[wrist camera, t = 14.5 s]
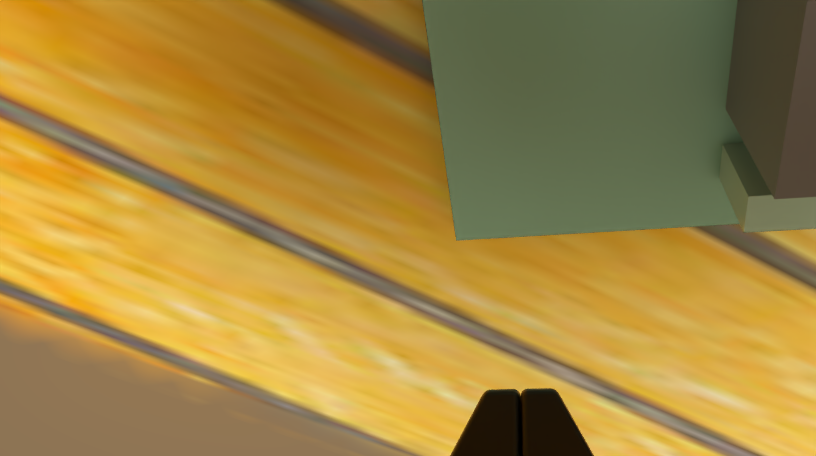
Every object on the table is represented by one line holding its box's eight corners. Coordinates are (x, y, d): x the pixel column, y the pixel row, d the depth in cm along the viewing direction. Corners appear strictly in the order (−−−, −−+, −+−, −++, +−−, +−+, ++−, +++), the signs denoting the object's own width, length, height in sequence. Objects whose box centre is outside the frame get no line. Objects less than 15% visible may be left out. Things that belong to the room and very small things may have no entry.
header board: (457, 224, 22) (447, 338, 18) (398, -202, 15) (362, -169, 12) (1076, 186, 19) (1224, 311, 15) (1309, -354, 13) (1666, -377, 9)
